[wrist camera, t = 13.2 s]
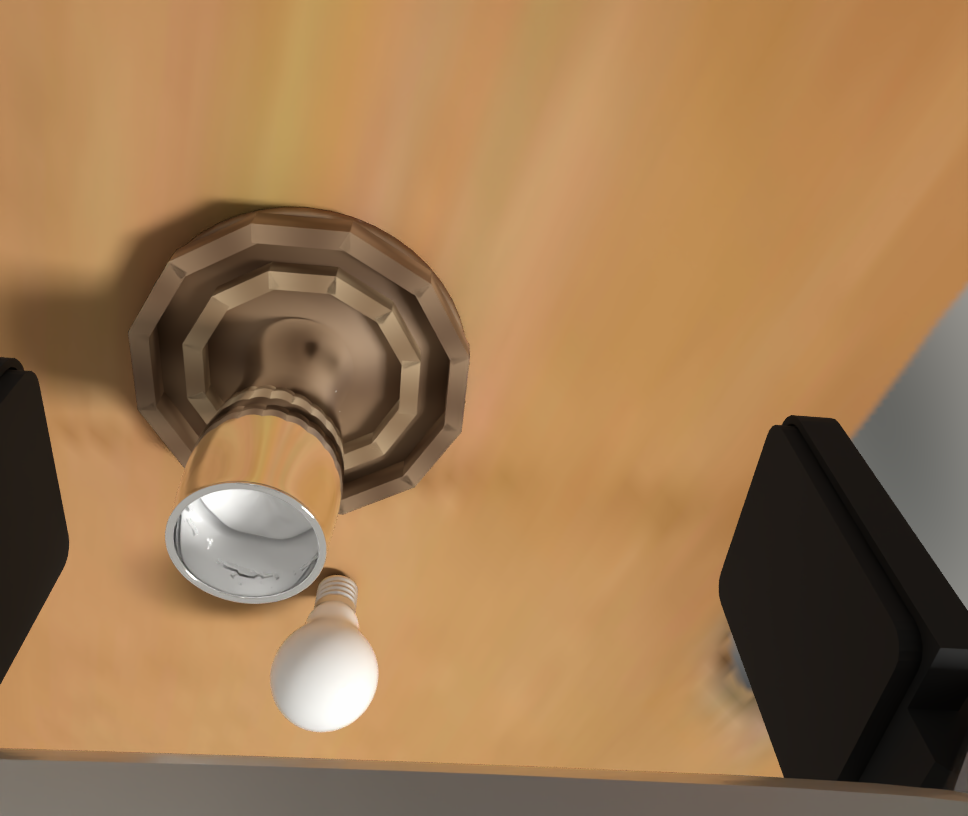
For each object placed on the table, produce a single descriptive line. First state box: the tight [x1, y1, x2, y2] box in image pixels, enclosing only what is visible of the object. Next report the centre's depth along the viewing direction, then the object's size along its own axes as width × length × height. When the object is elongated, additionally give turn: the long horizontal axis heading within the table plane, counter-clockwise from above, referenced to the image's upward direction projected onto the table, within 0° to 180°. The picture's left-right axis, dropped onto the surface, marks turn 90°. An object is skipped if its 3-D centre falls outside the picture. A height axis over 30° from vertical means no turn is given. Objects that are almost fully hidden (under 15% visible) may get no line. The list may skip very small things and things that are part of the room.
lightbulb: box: [270, 575, 378, 732], centre depth 54 cm, size 6×6×11 cm
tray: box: [128, 207, 470, 514], centre depth 48 cm, size 18×18×3 cm
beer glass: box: [165, 318, 354, 604], centre depth 42 cm, size 7×7×15 cm
